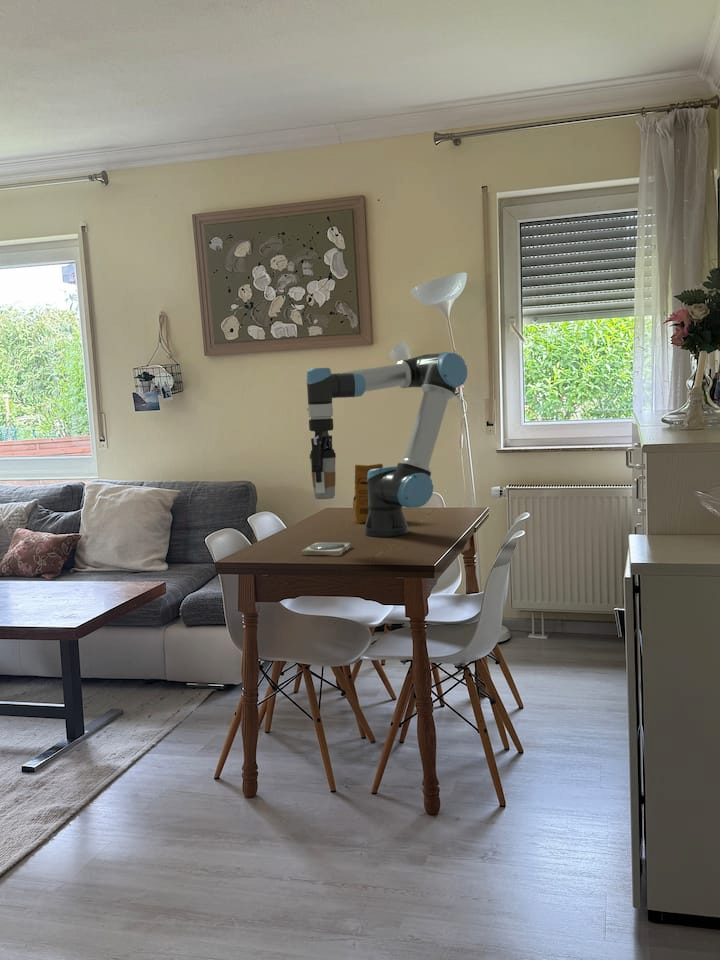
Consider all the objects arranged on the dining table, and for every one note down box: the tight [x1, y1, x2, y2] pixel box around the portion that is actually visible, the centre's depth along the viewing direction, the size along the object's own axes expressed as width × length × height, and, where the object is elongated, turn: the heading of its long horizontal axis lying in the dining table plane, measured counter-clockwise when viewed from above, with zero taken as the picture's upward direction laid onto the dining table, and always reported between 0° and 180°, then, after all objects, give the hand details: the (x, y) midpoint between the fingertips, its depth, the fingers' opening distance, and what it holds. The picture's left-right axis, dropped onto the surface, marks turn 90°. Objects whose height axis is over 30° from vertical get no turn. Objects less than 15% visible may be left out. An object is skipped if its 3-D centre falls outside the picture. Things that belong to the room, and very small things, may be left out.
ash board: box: [301, 541, 353, 557], centre depth 270 cm, size 14×12×2 cm
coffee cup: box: [309, 449, 337, 500], centre depth 268 cm, size 8×8×15 cm
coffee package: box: [352, 463, 384, 524], centre depth 326 cm, size 10×12×22 cm
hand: (324, 491), depth 268 cm, fingers closed on coffee cup, 7 cm apart
